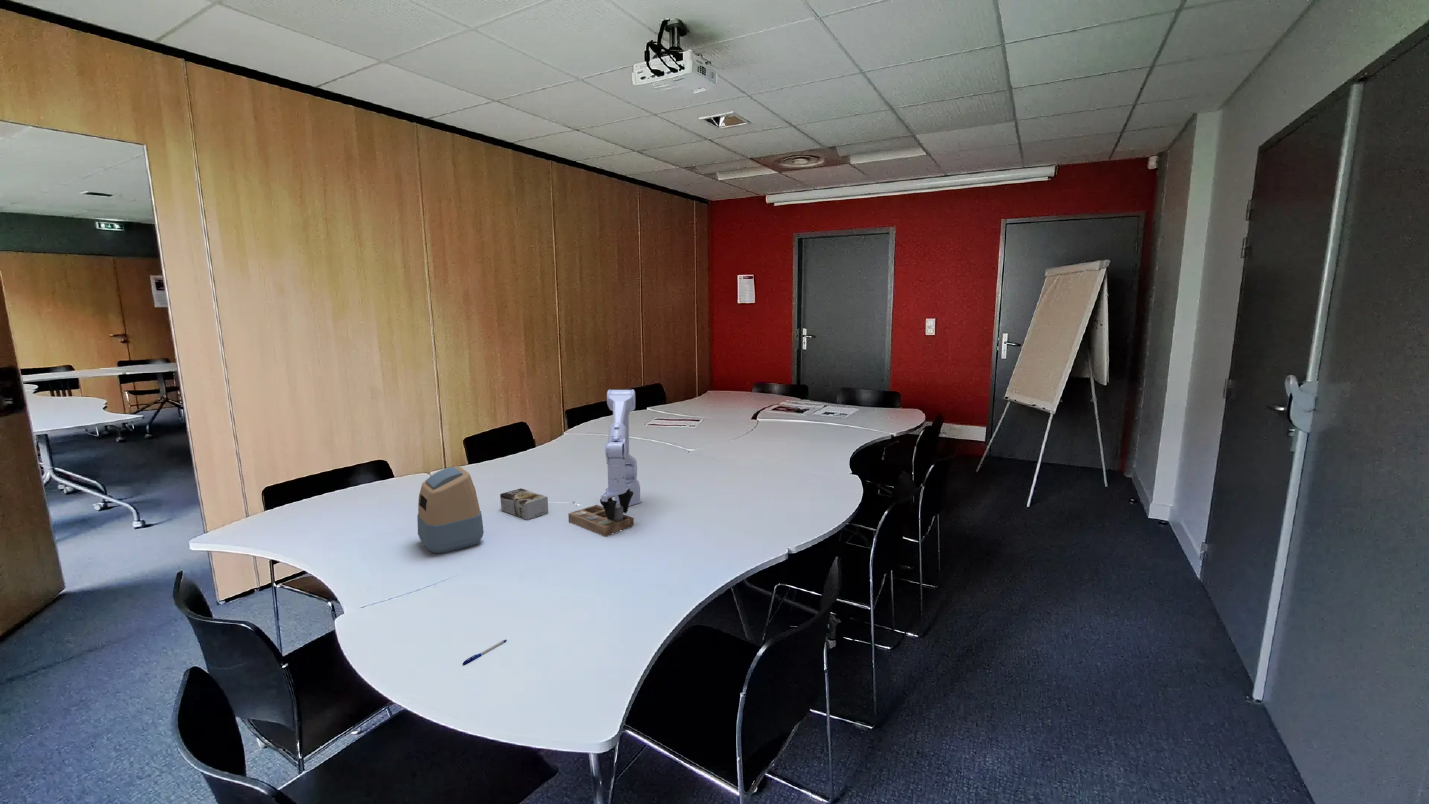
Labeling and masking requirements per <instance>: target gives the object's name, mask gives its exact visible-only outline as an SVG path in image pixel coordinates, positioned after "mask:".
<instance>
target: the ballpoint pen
mask: <svg viewBox="0 0 1429 804" xmlns="http://www.w3.org/2000/svg"><path fill="white" fill-rule="evenodd" d="M506 642H507V639H504V640H500V642H498V643H496V644H495V645H493V646H490V647H489V648H487V649H485V650H483V651H481V652H480V653H478V654H477V653H475V654H474V655H471V656H469V657H468V658H466V659H465V660H464V661H463V662H462V666H466V665H468V664H469V663H471V662H473V661H475V660H477V659H479V658H480V657H482V656H484V655H486V654H487V653H488V652H490V651H492V650H494V649H496V648H498V647H499V646H501V645H504V644H505V643H506Z"/></svg>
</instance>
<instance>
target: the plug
mask: <svg viewBox="0 0 1429 804" xmlns="http://www.w3.org/2000/svg"><path fill="white" fill-rule="evenodd" d="M623 514H624V513H623V506H621V505H619V504H616V506H615V512H614V520H611V521H614V522H619V521H622V520H623Z"/></svg>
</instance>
